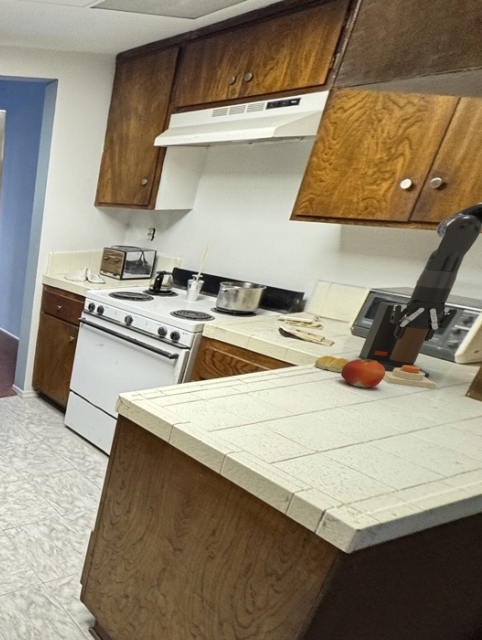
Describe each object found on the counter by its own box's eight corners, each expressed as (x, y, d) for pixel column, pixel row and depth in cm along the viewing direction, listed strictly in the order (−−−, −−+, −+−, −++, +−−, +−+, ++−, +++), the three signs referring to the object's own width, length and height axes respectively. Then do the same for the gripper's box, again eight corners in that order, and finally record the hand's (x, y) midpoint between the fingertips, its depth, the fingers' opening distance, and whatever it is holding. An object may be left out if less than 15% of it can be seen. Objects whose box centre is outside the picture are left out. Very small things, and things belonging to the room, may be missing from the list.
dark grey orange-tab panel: (427, 378, 146) (457, 315, 138) (376, 372, 151) (402, 310, 143) (403, 363, 160) (429, 305, 152) (357, 358, 165) (380, 301, 157)
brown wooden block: (384, 355, 155) (398, 321, 151) (407, 357, 153) (422, 323, 149) (393, 361, 149) (408, 326, 145) (418, 364, 146) (434, 328, 142)
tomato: (383, 393, 133) (394, 366, 130) (341, 386, 138) (351, 360, 135) (373, 383, 141) (384, 358, 138) (334, 377, 145) (343, 353, 142)
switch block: (420, 380, 144) (425, 370, 142) (433, 389, 137) (438, 377, 136) (377, 375, 148) (382, 364, 146) (388, 383, 141) (392, 372, 140)
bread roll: (323, 363, 159) (327, 352, 157) (354, 371, 151) (359, 359, 149) (307, 365, 156) (311, 354, 154) (339, 374, 148) (344, 362, 147)
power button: (414, 371, 142) (416, 366, 141) (419, 375, 139) (422, 369, 138) (398, 369, 143) (400, 364, 143) (403, 373, 140) (405, 367, 140)
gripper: (407, 285, 141) (385, 339, 147) (474, 288, 135) (448, 345, 141) (397, 281, 147) (376, 333, 154) (460, 285, 141) (436, 339, 147)
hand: (411, 338), depth 147 cm, fingers closed on brown wooden block, 6 cm apart
